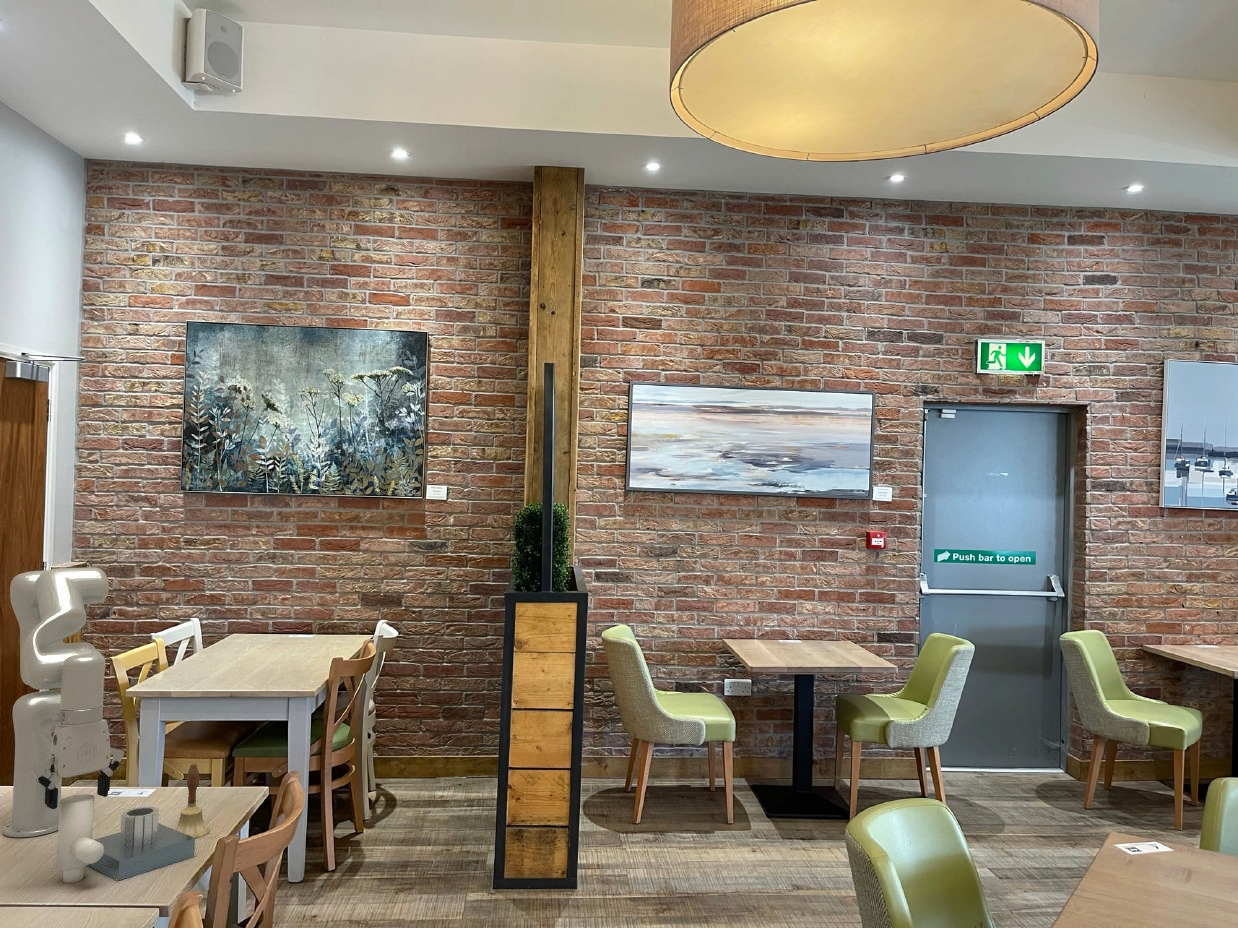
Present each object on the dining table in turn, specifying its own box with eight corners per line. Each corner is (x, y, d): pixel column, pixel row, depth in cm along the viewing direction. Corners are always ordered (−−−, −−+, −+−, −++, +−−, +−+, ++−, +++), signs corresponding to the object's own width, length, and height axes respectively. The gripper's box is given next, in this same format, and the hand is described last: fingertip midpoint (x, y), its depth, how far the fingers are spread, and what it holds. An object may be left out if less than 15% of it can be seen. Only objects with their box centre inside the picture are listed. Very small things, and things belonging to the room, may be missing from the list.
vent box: (80, 861, 189) (83, 814, 190) (155, 839, 202) (157, 795, 203) (118, 880, 180) (120, 830, 181) (194, 856, 193) (196, 809, 194)
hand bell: (217, 829, 210) (220, 761, 210) (190, 841, 202) (193, 770, 203) (190, 825, 212) (192, 757, 213) (161, 837, 204) (165, 766, 205)
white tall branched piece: (50, 880, 180) (54, 799, 181) (81, 870, 185) (85, 792, 186) (75, 894, 174) (79, 810, 175) (107, 883, 179) (111, 802, 180)
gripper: (43, 726, 173) (39, 816, 172) (133, 711, 187) (130, 794, 186) (26, 721, 177) (22, 809, 176) (115, 706, 192) (112, 788, 190)
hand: (77, 801), depth 181 cm, fingers open, 9 cm apart
